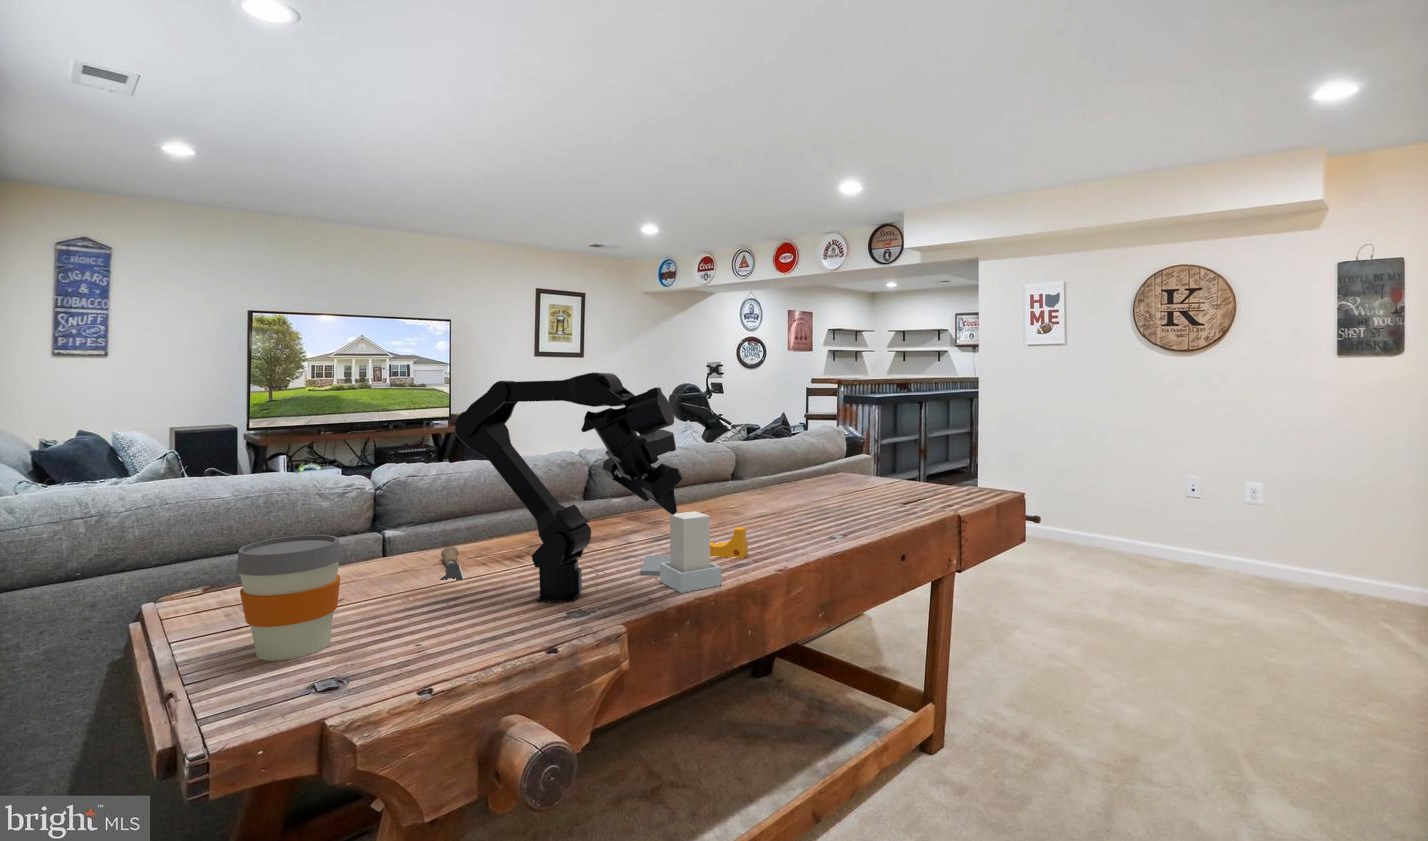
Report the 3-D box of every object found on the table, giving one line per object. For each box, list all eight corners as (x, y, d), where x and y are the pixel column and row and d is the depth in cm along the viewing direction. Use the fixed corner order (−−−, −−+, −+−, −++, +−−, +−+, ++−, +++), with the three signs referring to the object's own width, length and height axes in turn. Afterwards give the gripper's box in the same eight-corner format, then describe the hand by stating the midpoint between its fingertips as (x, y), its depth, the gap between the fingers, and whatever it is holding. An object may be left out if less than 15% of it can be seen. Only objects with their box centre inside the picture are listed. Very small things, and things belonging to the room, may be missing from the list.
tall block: (684, 589, 120) (683, 519, 119) (670, 582, 125) (669, 514, 124) (710, 585, 123) (709, 515, 122) (696, 577, 127) (695, 511, 127)
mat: (640, 575, 129) (640, 571, 129) (646, 559, 141) (646, 555, 141) (701, 574, 130) (701, 570, 130) (701, 558, 142) (701, 555, 141)
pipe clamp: (747, 554, 146) (747, 525, 145) (743, 559, 141) (743, 529, 141) (696, 551, 149) (695, 523, 148) (690, 556, 145) (689, 527, 144)
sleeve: (680, 593, 118) (680, 573, 118) (660, 581, 125) (659, 563, 125) (721, 585, 122) (721, 566, 122) (698, 574, 129) (698, 557, 129)
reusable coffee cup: (358, 646, 94) (354, 542, 94) (254, 674, 85) (249, 560, 84) (327, 625, 103) (323, 530, 102) (229, 649, 94) (225, 545, 93)
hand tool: (438, 586, 119) (430, 549, 142) (439, 602, 120) (431, 562, 142) (470, 581, 122) (458, 545, 144) (472, 596, 122) (458, 558, 145)
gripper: (684, 421, 109) (722, 491, 116) (629, 405, 124) (665, 468, 131) (634, 462, 105) (676, 532, 112) (583, 441, 119) (623, 504, 127)
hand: (661, 506), depth 120 cm, fingers open, 9 cm apart
